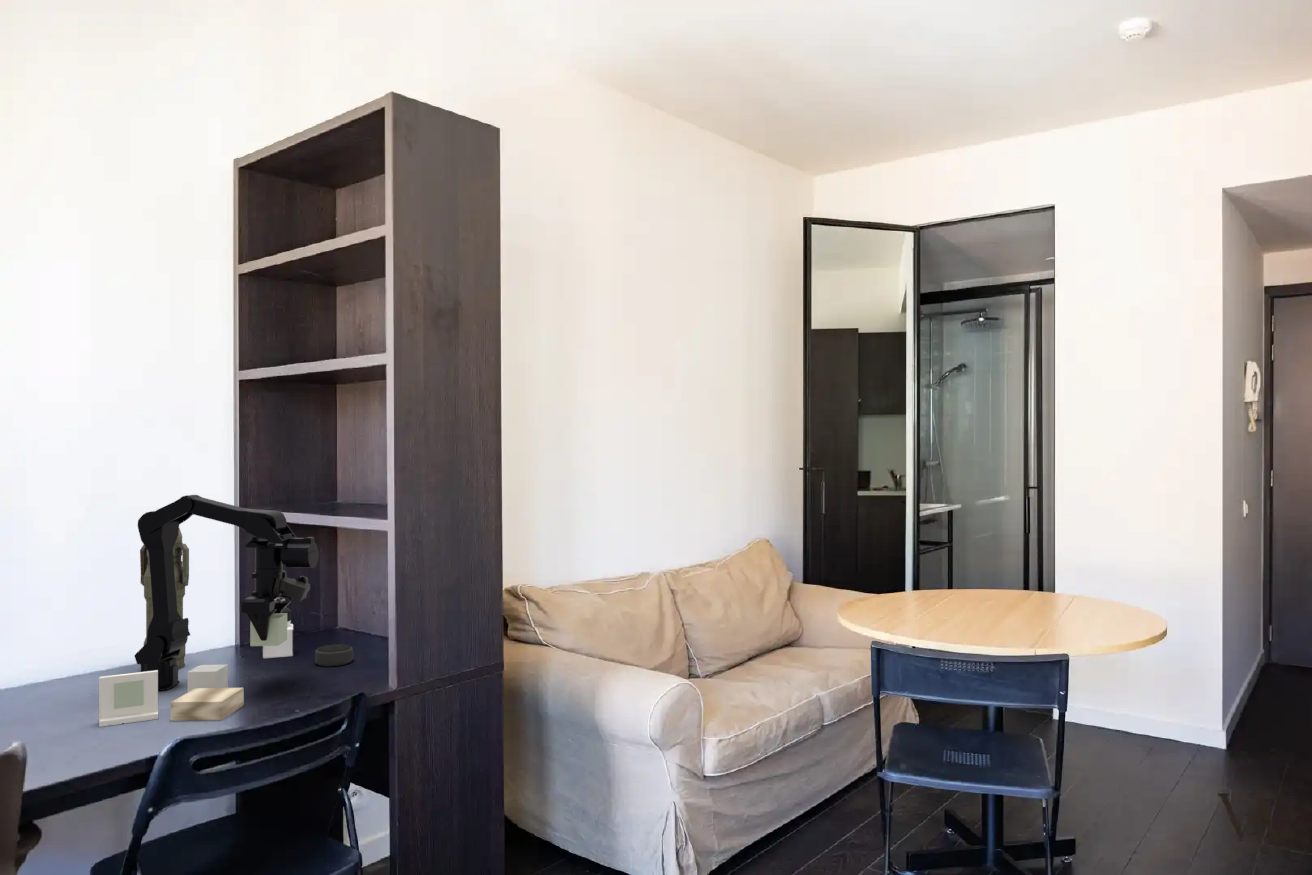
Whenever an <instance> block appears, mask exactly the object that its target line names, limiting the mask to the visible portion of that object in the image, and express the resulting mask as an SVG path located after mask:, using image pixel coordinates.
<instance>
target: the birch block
mask: <svg viewBox="0 0 1312 875" xmlns="http://www.w3.org/2000/svg"><path fill="white" fill-rule="evenodd" d="M244 690H245V689H244V687H228V688H195V689H193V690H191V691H190V692H188V691H187V692H186V693H185V694H182V695H181V696H180V697H177V698H176V699H174V700H172V701H170V721H173V722H174V721H176V722H177V721H222V720H224V719H226V718H228V717H229V716H230V715H232V714H233V713H235V712H236V711H237V710H239V709H240V708H242V707H243V706H244V704H245V701H244V700H245V695H244V694H245V692H244Z"/></svg>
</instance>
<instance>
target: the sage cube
mask: <svg viewBox="0 0 1312 875" xmlns="http://www.w3.org/2000/svg"><path fill="white" fill-rule="evenodd" d="M249 623H250V625H249V627H250V628H249V629H250V630H249V631H250V632H249V634H250V635H249V636H250V637H249V644H250V647H263V646H279V645H280V644H282V643H283V642H285V641H286V640H287V613H274V614H272V615H271V617H270V622H269V629H268V635H267V640H265V641H261V639H260V637H259V636H258V634H257V632H256V630H255V628H254V626H253V624H252V622H251V621H250V622H249Z"/></svg>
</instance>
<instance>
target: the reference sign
mask: <svg viewBox="0 0 1312 875" xmlns="http://www.w3.org/2000/svg"><path fill="white" fill-rule="evenodd" d="M98 681H99V684H98V686H99V689H98V692H99V693H98V694H99V695H98V697H99V700H98V701H99V702H98V706H99V707H98V708H99V710H98V714H99V716H98V727H99V728H101V727H108V726H109V727H110V726H115V725H116V726H117V725H123V724H122V723H124V724H130V723H131V724H132V723H138V722H144V721H146V722H147V721H151V720H158V719H159V690H158V670H155V671H146V672H141V671H139V672H131V673H123V674H113V675H102V676H99V678H98Z"/></svg>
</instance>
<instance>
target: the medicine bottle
mask: <svg viewBox="0 0 1312 875" xmlns="http://www.w3.org/2000/svg"><path fill="white" fill-rule="evenodd" d="M282 613H287V640H286V641H285V642H283V643H282V644H280V645H279V646H262V658H263V659H273V658H274V659H275V658H286V657H293V656H294V624H293V623H292V614H291V613H292V609H290V608H288V607H287V606H286V607H285V608H284V609H283V612H282Z"/></svg>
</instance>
